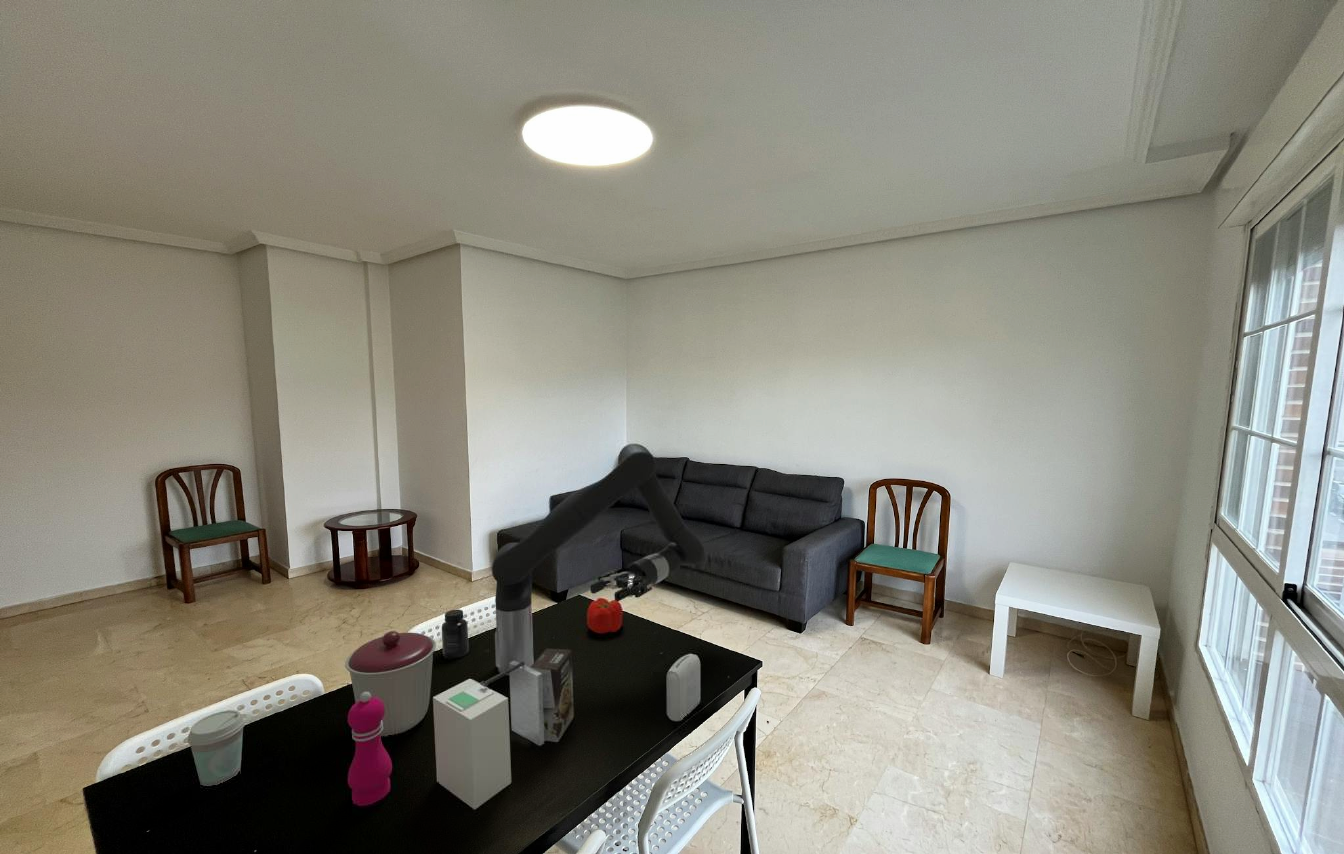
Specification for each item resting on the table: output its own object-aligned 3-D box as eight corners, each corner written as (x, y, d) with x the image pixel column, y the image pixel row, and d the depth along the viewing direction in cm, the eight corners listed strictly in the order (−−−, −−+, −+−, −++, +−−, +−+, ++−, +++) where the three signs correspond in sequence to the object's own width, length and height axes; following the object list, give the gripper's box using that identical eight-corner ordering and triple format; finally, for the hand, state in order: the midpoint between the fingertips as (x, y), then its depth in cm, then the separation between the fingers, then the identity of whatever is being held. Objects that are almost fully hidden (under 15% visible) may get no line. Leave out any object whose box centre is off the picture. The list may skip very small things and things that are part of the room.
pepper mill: (360, 781, 105) (354, 682, 104) (399, 779, 106) (394, 680, 104) (341, 811, 98) (334, 705, 97) (383, 808, 99) (376, 702, 97)
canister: (453, 720, 124) (448, 630, 123) (366, 761, 111) (360, 661, 109) (419, 690, 137) (415, 608, 135) (338, 723, 124) (332, 633, 122)
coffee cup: (202, 803, 100) (196, 741, 99) (184, 785, 105) (179, 726, 104) (256, 774, 108) (252, 716, 107) (238, 759, 112) (233, 703, 111)
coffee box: (558, 742, 116) (556, 670, 115) (530, 739, 117) (528, 667, 116) (574, 716, 125) (573, 649, 124) (548, 713, 126) (546, 646, 125)
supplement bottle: (474, 650, 156) (472, 609, 155) (455, 661, 150) (453, 619, 149) (456, 645, 159) (454, 605, 158) (437, 656, 153) (435, 615, 152)
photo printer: (687, 696, 133) (687, 647, 132) (703, 701, 131) (702, 651, 129) (664, 718, 124) (663, 666, 123) (680, 724, 122) (679, 671, 121)
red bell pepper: (579, 633, 166) (578, 604, 166) (604, 618, 176) (603, 591, 176) (607, 642, 161) (606, 612, 160) (631, 626, 171) (630, 598, 170)
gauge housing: (437, 781, 105) (432, 695, 104) (473, 757, 112) (469, 676, 110) (474, 809, 98) (470, 717, 97) (511, 782, 105) (507, 695, 103)
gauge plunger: (472, 754, 110) (468, 676, 108) (516, 726, 118) (513, 653, 117) (500, 773, 104) (497, 690, 103) (544, 742, 113) (541, 666, 112)
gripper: (627, 553, 149) (582, 573, 137) (667, 562, 140) (622, 584, 128) (630, 579, 150) (585, 601, 138) (669, 590, 141) (625, 615, 129)
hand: (603, 593), depth 133 cm, fingers open, 8 cm apart
